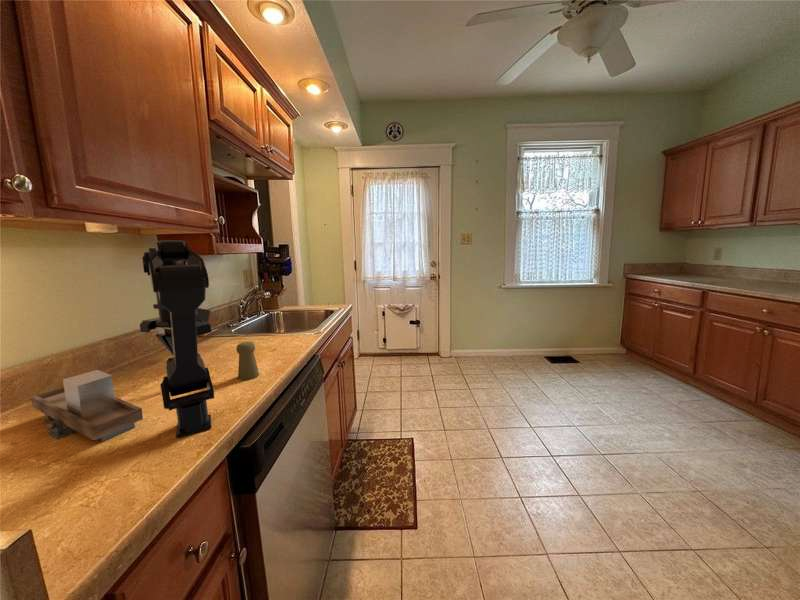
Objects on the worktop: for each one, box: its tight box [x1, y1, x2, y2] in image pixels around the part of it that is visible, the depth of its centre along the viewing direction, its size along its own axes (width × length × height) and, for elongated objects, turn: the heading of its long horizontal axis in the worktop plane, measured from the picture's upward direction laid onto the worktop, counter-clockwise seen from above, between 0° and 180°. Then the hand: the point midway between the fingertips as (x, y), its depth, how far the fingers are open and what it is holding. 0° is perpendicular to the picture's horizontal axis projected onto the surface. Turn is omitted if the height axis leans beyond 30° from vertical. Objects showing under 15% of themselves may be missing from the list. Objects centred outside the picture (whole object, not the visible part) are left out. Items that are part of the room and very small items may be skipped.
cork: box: [236, 341, 260, 381], centre depth 99 cm, size 6×6×11 cm
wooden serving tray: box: [30, 386, 144, 441], centre depth 74 cm, size 26×9×3 cm, turn 67°
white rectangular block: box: [62, 369, 116, 420], centre depth 72 cm, size 6×6×8 cm
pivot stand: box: [44, 414, 136, 443], centre depth 74 cm, size 25×13×3 cm, turn 67°
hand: (180, 359), depth 80 cm, fingers closed
